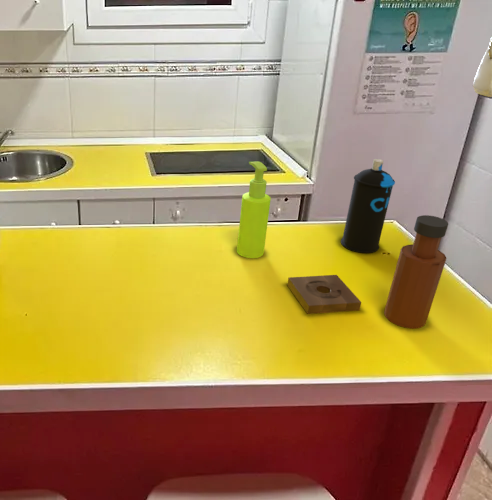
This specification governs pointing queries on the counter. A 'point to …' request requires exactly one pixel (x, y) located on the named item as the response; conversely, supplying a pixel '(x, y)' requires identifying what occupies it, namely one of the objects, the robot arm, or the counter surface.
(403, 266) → the bottle
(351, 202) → the aerosol can
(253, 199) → the soap dispenser
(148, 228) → the counter surface
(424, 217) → the cylinder
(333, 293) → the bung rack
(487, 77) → the robot arm
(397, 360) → the counter surface
